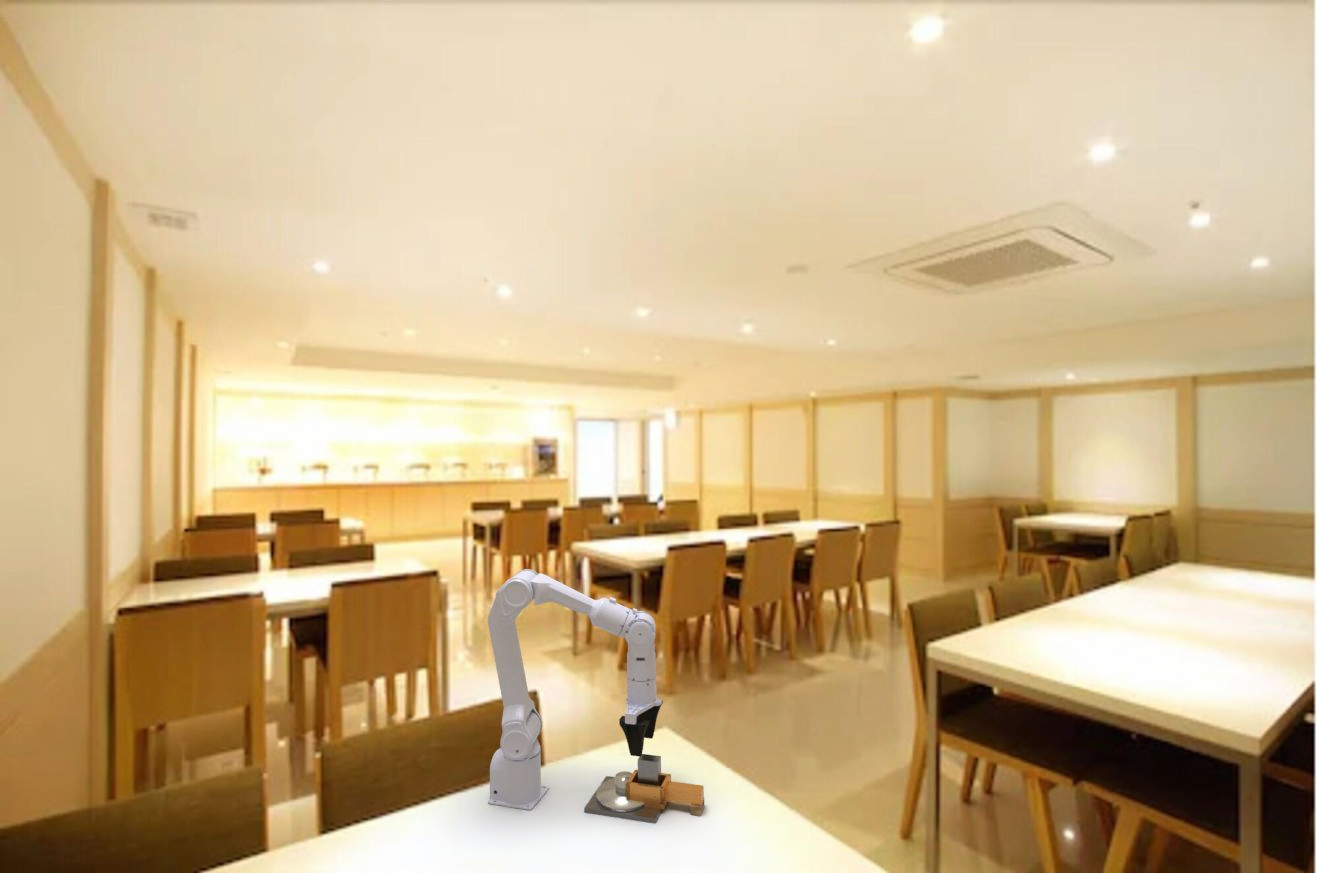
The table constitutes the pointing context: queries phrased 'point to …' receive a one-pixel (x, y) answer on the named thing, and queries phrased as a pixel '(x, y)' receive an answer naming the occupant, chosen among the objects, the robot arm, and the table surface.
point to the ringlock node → (642, 797)
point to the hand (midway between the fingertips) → (642, 746)
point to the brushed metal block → (649, 769)
